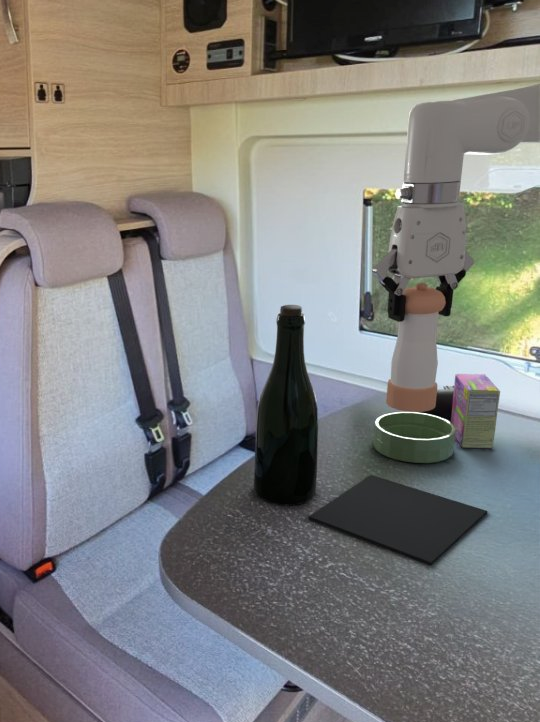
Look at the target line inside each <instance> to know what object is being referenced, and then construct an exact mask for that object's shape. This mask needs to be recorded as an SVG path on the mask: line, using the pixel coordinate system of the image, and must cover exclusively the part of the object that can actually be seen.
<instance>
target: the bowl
mask: <svg viewBox="0 0 540 722" xmlns="http://www.w3.org/2000/svg"><path fill="white" fill-rule="evenodd" d="M455 433H456V428H455V426H454V425H453V424H452V423H451V421H450V420H446V419H443V418H440V417H438V416H434V415H430V414H425V413H417V412H407V411H399V412H398V411H397V412H391V413H385V414H382V415H380V416H379V417H377V418H376V419H375V421H374V429H373V439H372V440H373V442H372V445H373V447H374V449H375V450H376V451H377V452H378V453H379V454H381V455H383V456H385V457H388V458H390V459H393V460H397V461H401V462H406V463H413V464H431V463H439V462H442V461H445V460H448V459H449V458H450V457H452V456H453V454H454V450H455V449H454V448H455V441H456V440H455V439H456V437H455Z"/></svg>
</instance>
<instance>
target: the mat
mask: <svg viewBox="0 0 540 722" xmlns="http://www.w3.org/2000/svg"><path fill="white" fill-rule="evenodd" d="M487 514H488V510H487V509H482V508H479V507H476V506H473V505H470V504H466V503H463V502H460V501H457V500H454V499H450V498H447V497H444V496H440V495H438V494H434V493H431V492H427V491H424V490H422V489H419V488H418V489H417V488H415V487H412V486H409V485H405V484H403V483H399V482H396V481H392V480H389V479H386V478H383V477H380V476H376V475H373V474H370V475H368V476H367V477H366V478H364V479H363V480H361V481H359V482H358V483H357V484H355V485H354V486H352V487H351V488H349V489H348V490H346V491H344V492H343V493H341V494H340V495H339V496H337V497H335V498H334V499H332V500H331V501H329V502H328V503H326V504H325V505H324V506H322V507H320V508H319V509H317V510H316V511H315V512H313V513H312V514H310V515H309V516H308V519H309V520H311V521H313V522H316V523H319V524H322V525H324V526H326V527H329V528H332V529H333V530H337V531H340V532H342V533H345V534H347V535H351V536H353V537H356V538H358V539H361V540H362V541H366V542H368V543H371V544H374V545H376V546H379V547H381V548H384V549H387V550H389V551H392V552H395V553H398V554H400V555H403V556H405V557H408V558H410V559H413V560H416V561H418V562H421V563H424V564H426V565H429V566H432V565H433V564H434V563H435V562H436V561H438V560H439V559H440V558H441V557H442V556H443V555H444V554H445V553H446V552H447V551H448V550H449V549H450V548H451V547H453V546H454V545H455V544H456V543H458V541H459V540H460V539H462V537H463V536H465V534H467V533H468V532H469V531H470V530H471V529H472V528H473V527H475V525H477V524H478V523H479V522H480V521H481V520H482V519H483V518H484V517H485V516H486V515H487Z"/></svg>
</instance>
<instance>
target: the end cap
mask: <svg viewBox="0 0 540 722" xmlns="http://www.w3.org/2000/svg"><path fill="white" fill-rule="evenodd" d="M453 394H454V385H444V386H443V389H437V396H436V405H435V408H434V409H432V410H429V411H424V412H417V413H425V414H430V415H434V416H438V417H440V418H443V419H446V420H448V421H451V415H452V405H453Z"/></svg>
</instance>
